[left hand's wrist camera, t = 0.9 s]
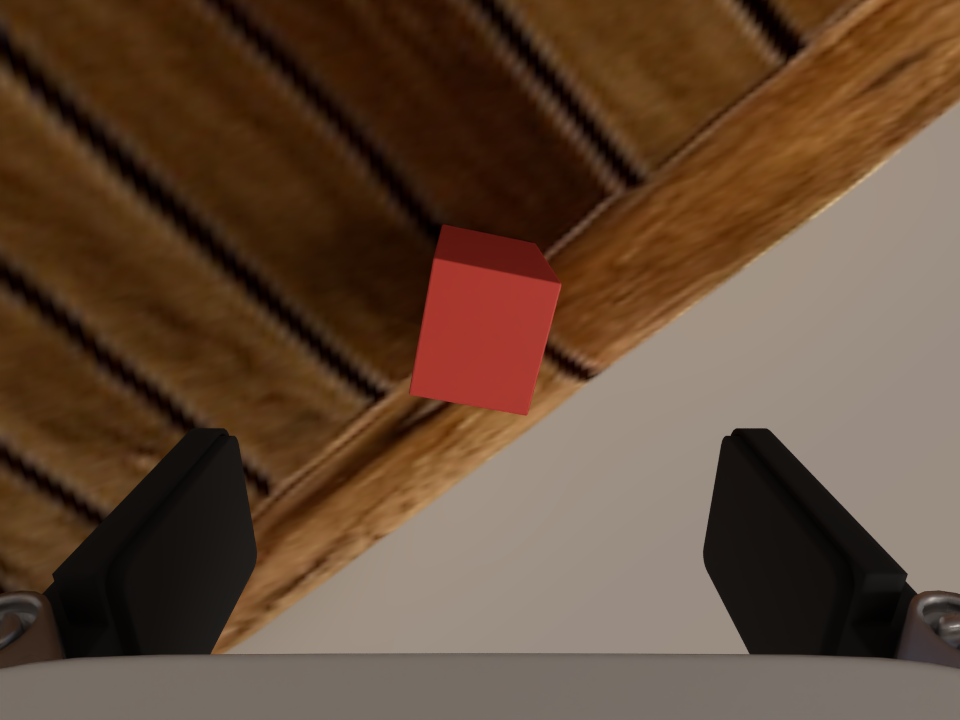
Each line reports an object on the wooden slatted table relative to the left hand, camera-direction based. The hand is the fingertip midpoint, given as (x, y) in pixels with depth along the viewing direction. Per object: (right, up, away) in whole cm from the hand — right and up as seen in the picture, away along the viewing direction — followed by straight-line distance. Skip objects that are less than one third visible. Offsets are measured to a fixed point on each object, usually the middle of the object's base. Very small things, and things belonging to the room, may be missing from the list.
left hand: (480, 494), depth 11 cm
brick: (0, +6, +18) cm, 19 cm away
